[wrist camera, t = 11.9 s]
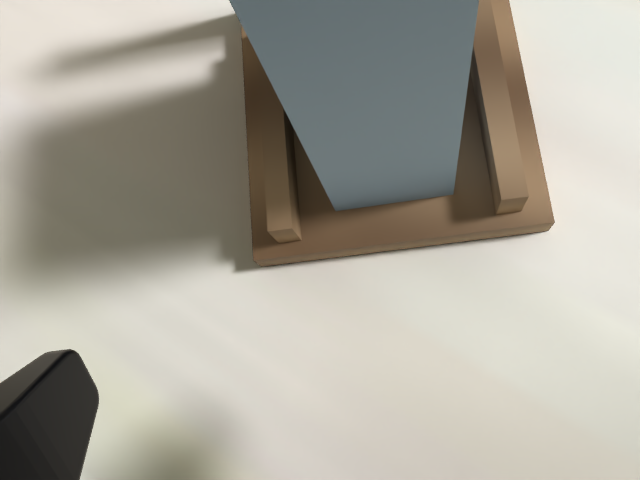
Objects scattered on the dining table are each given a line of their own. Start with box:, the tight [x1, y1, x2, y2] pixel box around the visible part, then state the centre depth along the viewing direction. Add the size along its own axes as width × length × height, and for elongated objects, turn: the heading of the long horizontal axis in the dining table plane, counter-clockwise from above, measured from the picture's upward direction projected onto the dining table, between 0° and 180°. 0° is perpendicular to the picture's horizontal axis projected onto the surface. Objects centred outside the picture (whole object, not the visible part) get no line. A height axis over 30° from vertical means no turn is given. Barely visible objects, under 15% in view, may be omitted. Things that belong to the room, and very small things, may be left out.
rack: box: [241, 0, 555, 267], centre depth 17 cm, size 11×10×9 cm
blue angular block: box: [229, 0, 479, 211], centre depth 15 cm, size 7×4×12 cm, turn 5°
